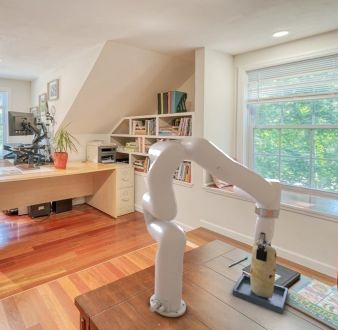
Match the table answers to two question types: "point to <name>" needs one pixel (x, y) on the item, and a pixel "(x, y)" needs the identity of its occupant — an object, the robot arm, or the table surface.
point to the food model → (263, 272)
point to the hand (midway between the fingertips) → (263, 256)
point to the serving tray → (246, 293)
